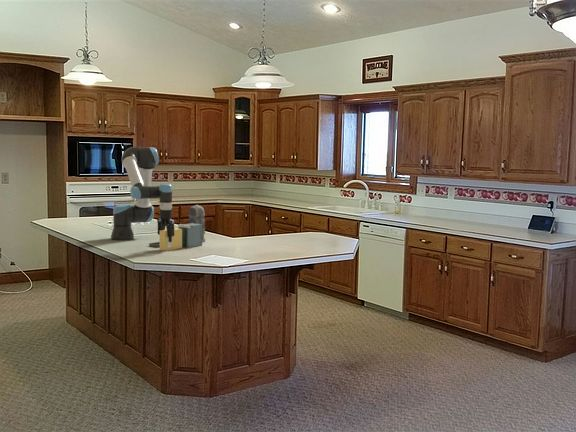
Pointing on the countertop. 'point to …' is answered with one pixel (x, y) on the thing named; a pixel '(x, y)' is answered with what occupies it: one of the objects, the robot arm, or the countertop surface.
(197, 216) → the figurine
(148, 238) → the countertop surface
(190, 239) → the dispenser
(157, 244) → the tray
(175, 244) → the yellow tall slab
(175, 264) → the countertop surface
